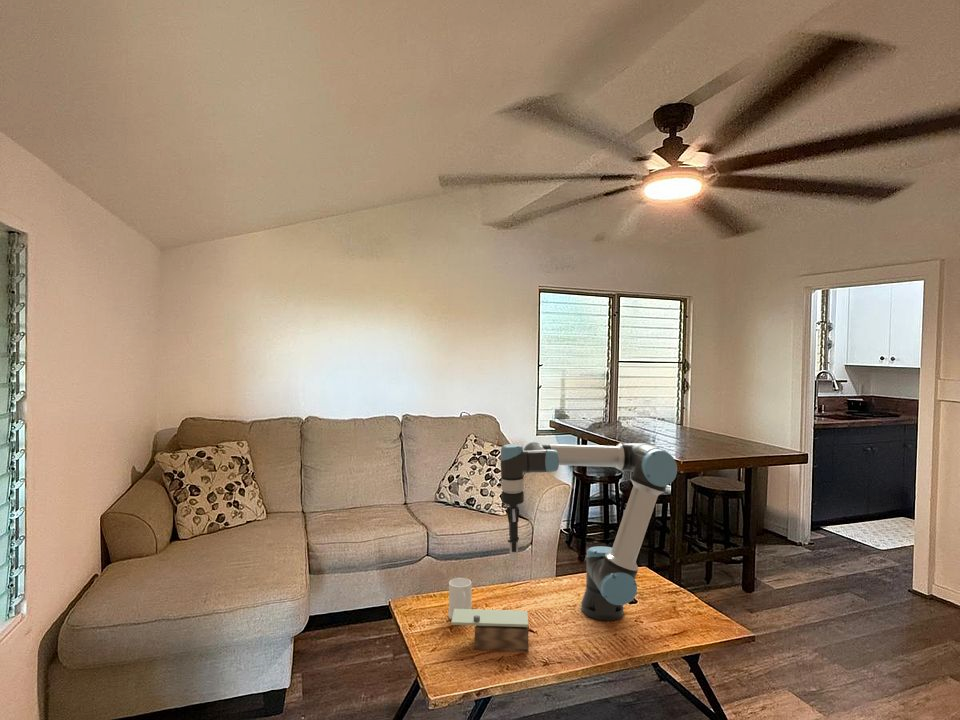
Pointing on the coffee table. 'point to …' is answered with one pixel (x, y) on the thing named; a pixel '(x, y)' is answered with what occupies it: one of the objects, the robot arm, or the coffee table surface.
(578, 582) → the coffee table surface
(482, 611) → the lid
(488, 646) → the cable box
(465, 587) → the mug
